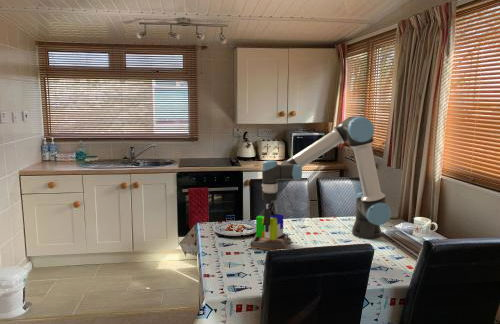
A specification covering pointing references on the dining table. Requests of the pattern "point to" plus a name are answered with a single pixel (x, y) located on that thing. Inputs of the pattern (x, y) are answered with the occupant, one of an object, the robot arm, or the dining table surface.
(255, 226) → the ceramic plate
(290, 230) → the dining table surface
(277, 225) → the puzzle toy
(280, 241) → the pocket board
